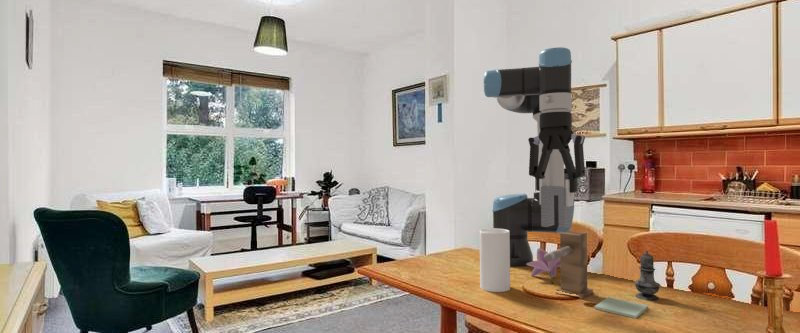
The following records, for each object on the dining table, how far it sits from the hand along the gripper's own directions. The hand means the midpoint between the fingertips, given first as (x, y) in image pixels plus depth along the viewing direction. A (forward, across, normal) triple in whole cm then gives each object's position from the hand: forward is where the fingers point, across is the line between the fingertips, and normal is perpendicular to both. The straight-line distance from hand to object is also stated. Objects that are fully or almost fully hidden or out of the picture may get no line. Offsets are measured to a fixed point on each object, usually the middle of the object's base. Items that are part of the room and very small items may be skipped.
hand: (556, 204), depth 106 cm
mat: (+24, +13, +6) cm, 28 cm away
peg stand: (+24, 0, +4) cm, 25 cm away
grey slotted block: (+5, 0, 0) cm, 5 cm away
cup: (+25, -18, 0) cm, 30 cm away
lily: (+25, -11, +17) cm, 32 cm away
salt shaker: (+25, +15, +19) cm, 34 cm away
